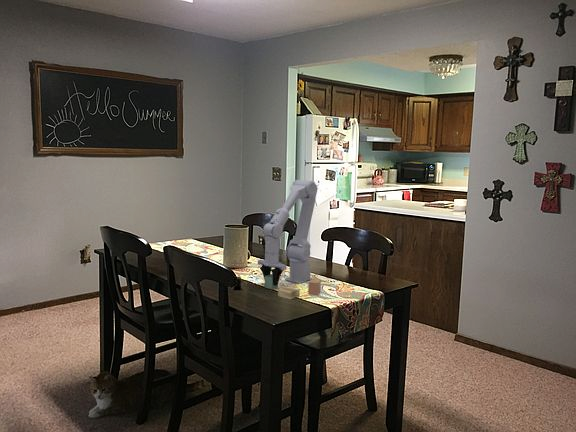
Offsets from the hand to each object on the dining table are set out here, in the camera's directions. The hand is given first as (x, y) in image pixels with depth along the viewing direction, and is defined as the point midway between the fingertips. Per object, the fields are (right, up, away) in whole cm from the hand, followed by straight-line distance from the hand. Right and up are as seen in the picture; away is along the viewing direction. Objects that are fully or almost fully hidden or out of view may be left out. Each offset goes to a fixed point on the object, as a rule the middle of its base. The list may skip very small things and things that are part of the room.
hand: (271, 284), depth 213 cm
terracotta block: (+18, -3, -7) cm, 19 cm away
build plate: (-14, -2, 0) cm, 14 cm away
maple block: (+7, -4, -11) cm, 14 cm away
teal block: (0, -1, 0) cm, 1 cm away
